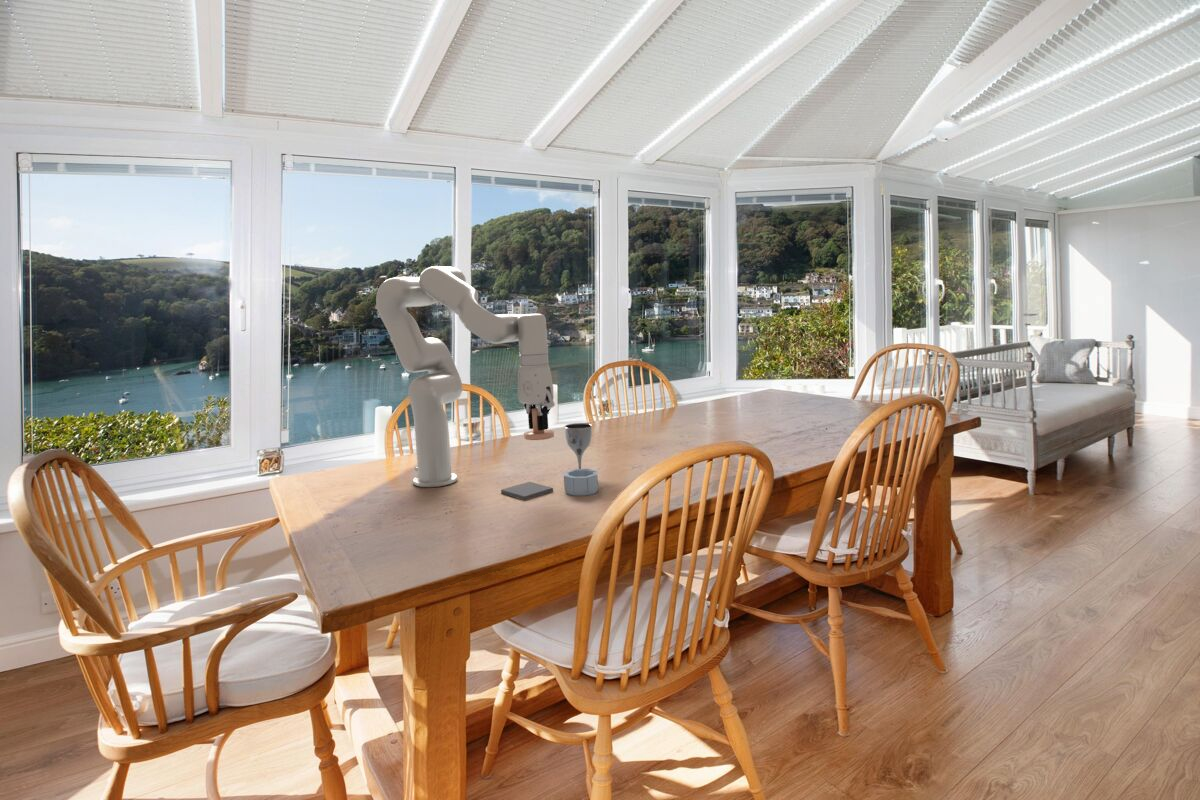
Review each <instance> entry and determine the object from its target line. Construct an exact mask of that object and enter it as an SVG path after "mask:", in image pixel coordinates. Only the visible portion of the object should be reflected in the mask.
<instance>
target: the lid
mask: <svg viewBox="0 0 1200 800" xmlns="http://www.w3.org/2000/svg"><path fill="white" fill-rule="evenodd" d="M537 416H539V414H538V407H537V408H533V409H532V422H533V429H532V430H528V431H525V432H523V438H524V440H528V441H543V440H548V439H552V438H554V437H555V432H554V430H552V429H545V430H541V431H539V430H538V425H537Z"/></svg>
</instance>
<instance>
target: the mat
mask: <svg viewBox="0 0 1200 800" xmlns="http://www.w3.org/2000/svg"><path fill="white" fill-rule="evenodd" d="M500 492H501V494H504V495H506V496H510V497H514V498H515V499H519V500H522V501H526V500H529V499H533V498H537V497H539V496H543V495H546V494H549V493H552V492H554V488H553V487H552V486H551V487H550V486H549V485H543V484H540V483H535V482H533V481H532V482H531V481H527V482H524V483H520V484H516V485H513V486H509V487H506V488H503V489H501V490H500Z"/></svg>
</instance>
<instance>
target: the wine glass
mask: <svg viewBox="0 0 1200 800" xmlns="http://www.w3.org/2000/svg"><path fill="white" fill-rule="evenodd" d="M564 435H565V440H566V444H567V446H568V447H569V449H570V450H571V451H572V452H574V454H575V456H576V458H577V463H578V469H582V457H583V455H584V453H585V451H586V450H587V449H589V446H590V445H591V442H592V436H593V426H592V424H590V423H586V422H584V423H583V422H575V423H569V424H566V425H564Z"/></svg>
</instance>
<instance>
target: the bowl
mask: <svg viewBox="0 0 1200 800" xmlns="http://www.w3.org/2000/svg"><path fill="white" fill-rule="evenodd" d="M598 479H599V477H598V471H597V470H595V469H590V468H581V469H579V468H574V469H571V470H567V471H564V473H563V482H564V485H563V487H564V493H565V494H566V495H568V496H572V497H584V496H585V497H586V496H592V495H594V494H597V493H598V492H599V484H598V483H599V482H598V481H599V480H598Z"/></svg>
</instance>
